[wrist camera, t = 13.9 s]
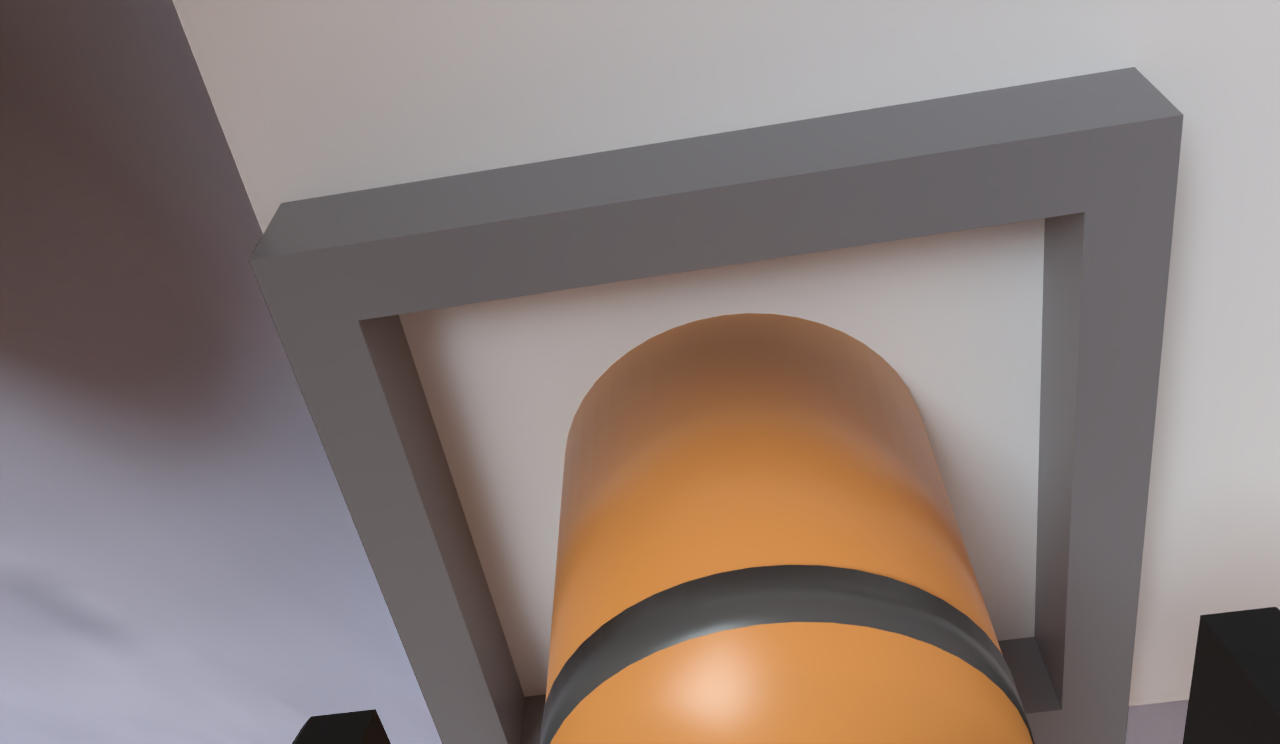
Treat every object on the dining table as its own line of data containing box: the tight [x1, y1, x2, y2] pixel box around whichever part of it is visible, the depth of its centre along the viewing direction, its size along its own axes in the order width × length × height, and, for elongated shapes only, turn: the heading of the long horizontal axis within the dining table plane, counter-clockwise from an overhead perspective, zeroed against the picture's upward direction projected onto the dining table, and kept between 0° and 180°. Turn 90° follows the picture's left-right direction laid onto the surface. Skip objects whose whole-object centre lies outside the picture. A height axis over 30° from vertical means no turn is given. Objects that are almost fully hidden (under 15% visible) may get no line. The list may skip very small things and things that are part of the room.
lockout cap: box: [540, 313, 1035, 744], centre depth 12 cm, size 4×4×5 cm
